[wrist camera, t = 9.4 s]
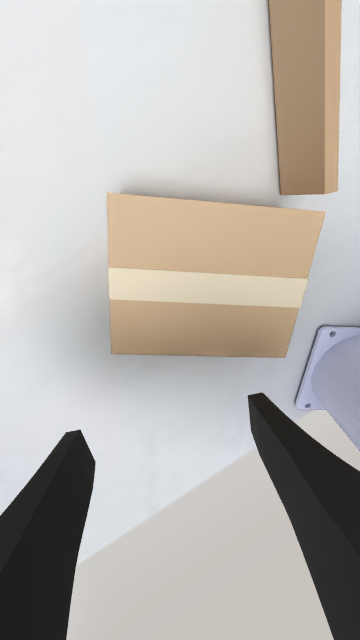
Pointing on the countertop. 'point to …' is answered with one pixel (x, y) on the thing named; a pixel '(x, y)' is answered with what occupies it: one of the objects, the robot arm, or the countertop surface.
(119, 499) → the countertop surface
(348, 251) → the countertop surface
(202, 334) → the carton
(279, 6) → the flap
